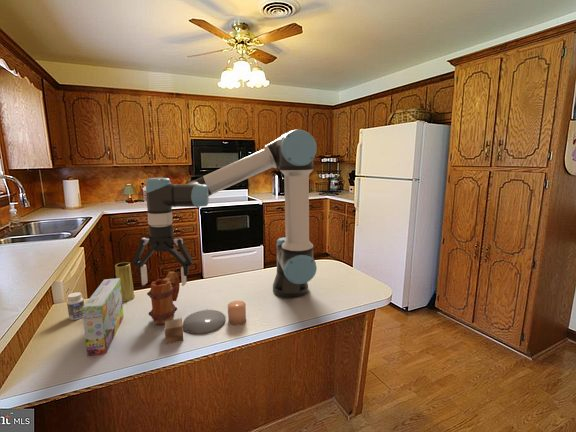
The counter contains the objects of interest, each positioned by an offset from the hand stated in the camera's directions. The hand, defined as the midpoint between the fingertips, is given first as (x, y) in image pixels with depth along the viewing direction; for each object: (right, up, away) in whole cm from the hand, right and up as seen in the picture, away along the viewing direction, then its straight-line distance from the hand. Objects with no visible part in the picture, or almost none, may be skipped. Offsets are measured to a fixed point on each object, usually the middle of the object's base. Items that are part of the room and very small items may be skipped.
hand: (164, 284), depth 105 cm
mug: (0, -12, +2) cm, 12 cm away
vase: (-22, -9, +16) cm, 29 cm away
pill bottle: (-32, -12, +2) cm, 34 cm away
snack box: (-15, -14, -8) cm, 22 cm away
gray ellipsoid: (+14, -13, -1) cm, 19 cm away
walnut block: (+7, -15, -10) cm, 19 cm away
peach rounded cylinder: (+25, -13, 0) cm, 28 cm away
